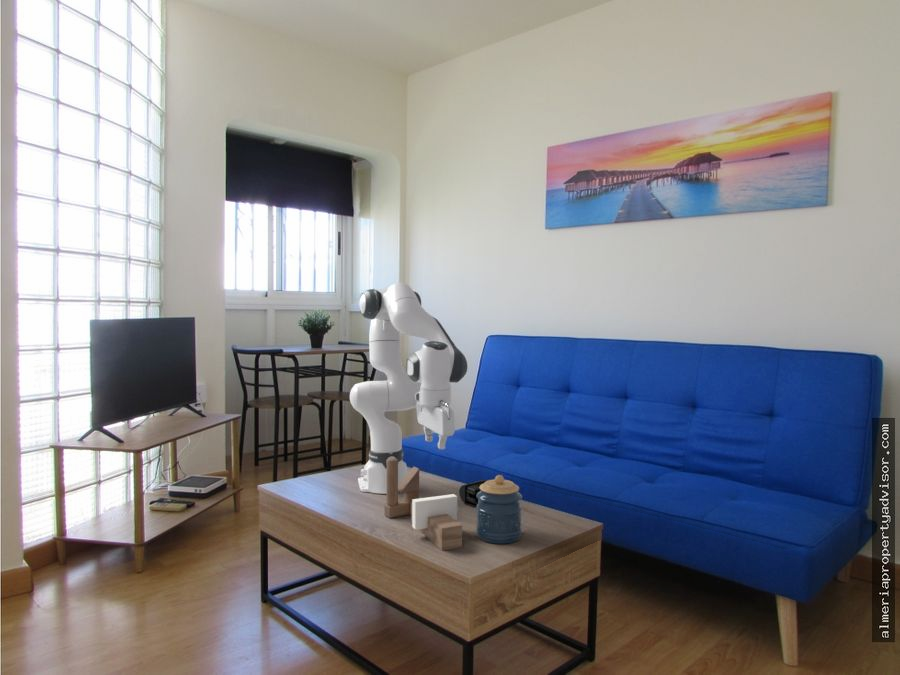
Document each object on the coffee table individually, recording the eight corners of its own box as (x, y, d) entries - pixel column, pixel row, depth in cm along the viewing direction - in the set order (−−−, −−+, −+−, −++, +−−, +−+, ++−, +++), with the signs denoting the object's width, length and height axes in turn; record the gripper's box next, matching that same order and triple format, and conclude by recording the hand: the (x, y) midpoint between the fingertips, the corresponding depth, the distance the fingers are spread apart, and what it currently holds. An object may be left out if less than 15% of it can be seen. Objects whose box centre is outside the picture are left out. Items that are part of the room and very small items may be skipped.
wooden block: (419, 512, 197) (419, 456, 196) (389, 518, 191) (389, 461, 190) (413, 509, 200) (413, 454, 199) (384, 515, 194) (384, 458, 194)
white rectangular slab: (453, 520, 183) (453, 493, 182) (457, 523, 180) (457, 496, 180) (412, 527, 177) (412, 499, 177) (415, 529, 175) (415, 502, 175)
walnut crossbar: (410, 521, 189) (410, 502, 188) (429, 519, 191) (429, 500, 191) (441, 550, 167) (441, 528, 166) (462, 547, 169) (462, 525, 169)
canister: (468, 531, 181) (468, 472, 180) (507, 525, 186) (508, 467, 185) (489, 547, 169) (489, 483, 168) (530, 540, 174) (530, 478, 173)
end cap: (480, 497, 214) (480, 477, 213) (495, 502, 208) (495, 482, 208) (458, 503, 207) (458, 483, 207) (473, 508, 202) (473, 487, 201)
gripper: (460, 403, 171) (459, 452, 172) (432, 392, 190) (432, 436, 191) (439, 404, 169) (438, 454, 170) (413, 393, 187) (412, 438, 188)
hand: (435, 445), depth 180 cm, fingers open, 8 cm apart
